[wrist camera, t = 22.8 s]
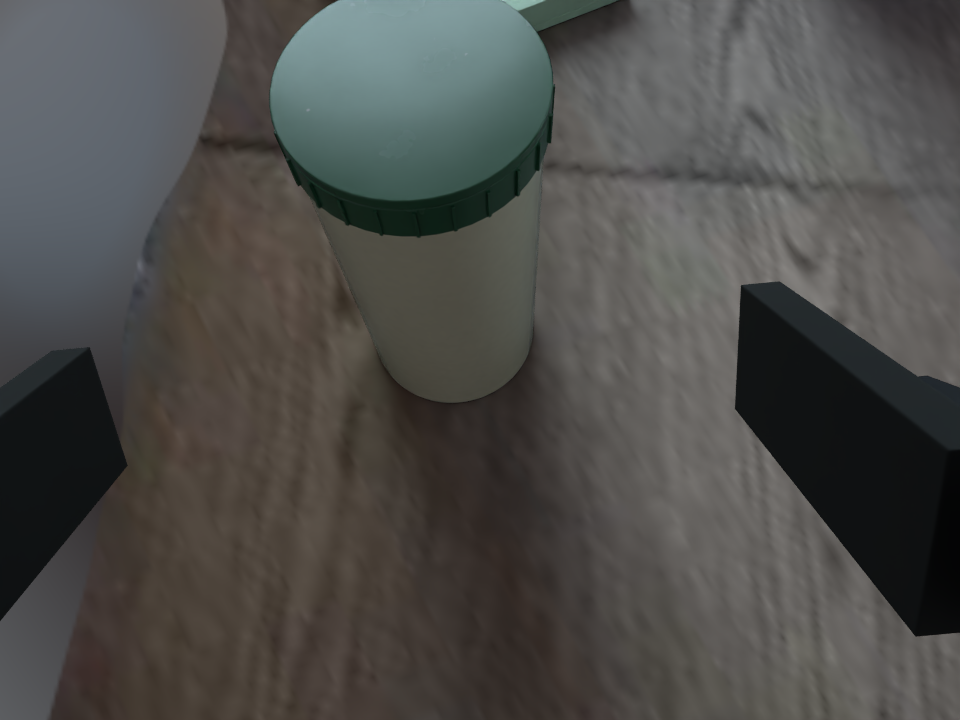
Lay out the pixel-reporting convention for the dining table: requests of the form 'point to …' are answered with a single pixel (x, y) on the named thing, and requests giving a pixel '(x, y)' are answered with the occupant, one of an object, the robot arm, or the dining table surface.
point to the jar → (448, 297)
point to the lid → (413, 111)
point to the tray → (554, 10)
